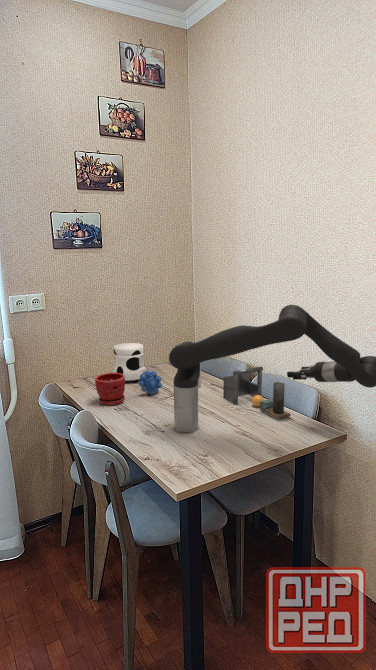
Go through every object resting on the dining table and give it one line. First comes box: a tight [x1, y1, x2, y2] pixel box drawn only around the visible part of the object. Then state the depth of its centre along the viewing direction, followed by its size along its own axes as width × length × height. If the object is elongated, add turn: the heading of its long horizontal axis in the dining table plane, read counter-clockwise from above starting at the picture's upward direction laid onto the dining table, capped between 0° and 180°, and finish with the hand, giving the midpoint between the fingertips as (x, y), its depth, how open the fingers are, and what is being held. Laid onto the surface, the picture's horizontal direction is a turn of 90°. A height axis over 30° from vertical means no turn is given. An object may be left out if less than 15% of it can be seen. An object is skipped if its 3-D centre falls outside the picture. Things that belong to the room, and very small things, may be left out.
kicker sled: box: [259, 381, 292, 418], centre depth 184 cm, size 12×6×13 cm, turn 29°
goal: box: [222, 366, 264, 405], centre depth 204 cm, size 10×15×15 cm, turn 119°
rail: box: [259, 408, 292, 422], centre depth 186 cm, size 14×5×1 cm, turn 29°
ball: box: [251, 395, 265, 408], centre depth 195 cm, size 5×5×5 cm
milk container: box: [112, 342, 147, 383], centre depth 236 cm, size 17×17×18 cm
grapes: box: [137, 369, 163, 396], centre depth 211 cm, size 12×7×12 cm, turn 116°
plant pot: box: [94, 372, 126, 406], centre depth 202 cm, size 13×13×12 cm
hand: (295, 372), depth 177 cm, fingers open, 8 cm apart
